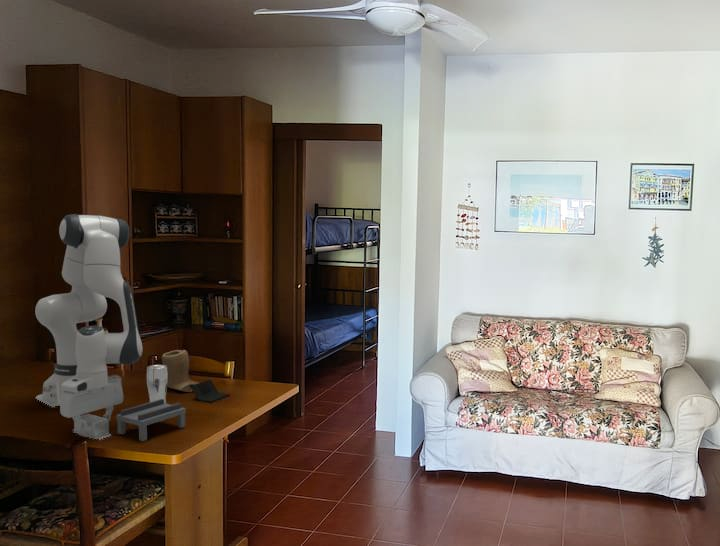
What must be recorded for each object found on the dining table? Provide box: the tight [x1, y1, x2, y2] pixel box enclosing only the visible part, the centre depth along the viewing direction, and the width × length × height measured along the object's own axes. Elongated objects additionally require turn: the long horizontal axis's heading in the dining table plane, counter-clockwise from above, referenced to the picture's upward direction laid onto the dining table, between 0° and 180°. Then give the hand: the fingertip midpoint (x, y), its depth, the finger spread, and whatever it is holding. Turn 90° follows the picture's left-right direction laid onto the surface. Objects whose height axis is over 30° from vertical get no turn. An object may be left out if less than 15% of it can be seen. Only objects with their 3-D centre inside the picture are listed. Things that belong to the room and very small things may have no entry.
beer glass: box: [146, 364, 169, 404], centre depth 240 cm, size 7×7×15 cm
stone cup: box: [161, 349, 199, 393], centre depth 267 cm, size 15×12×15 cm
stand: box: [115, 399, 187, 442], centre depth 219 cm, size 12×17×8 cm
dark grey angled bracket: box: [191, 379, 230, 404], centre depth 256 cm, size 12×7×10 cm
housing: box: [72, 413, 112, 441], centre depth 215 cm, size 13×5×5 cm, turn 56°
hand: (93, 424), depth 215 cm, fingers open, 8 cm apart
